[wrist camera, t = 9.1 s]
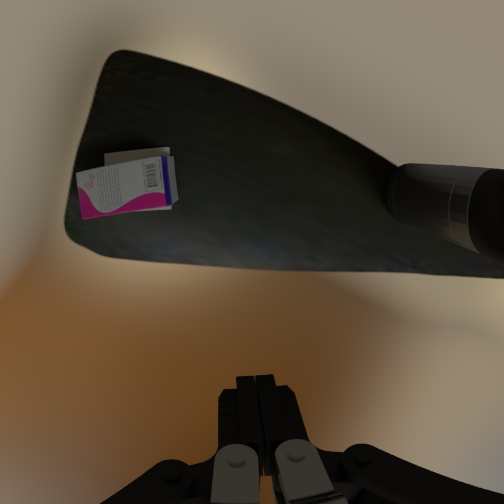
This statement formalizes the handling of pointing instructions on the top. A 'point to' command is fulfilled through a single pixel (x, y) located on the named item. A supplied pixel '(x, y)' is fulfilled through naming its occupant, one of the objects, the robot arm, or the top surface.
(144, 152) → the mat
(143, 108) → the top surface
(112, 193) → the supplement box
